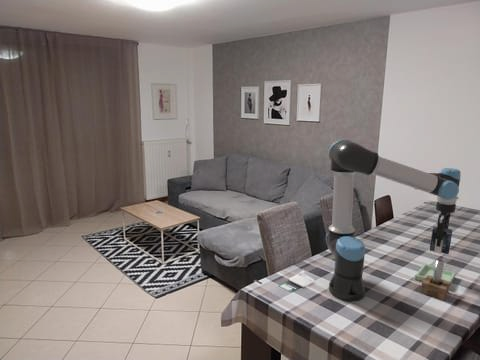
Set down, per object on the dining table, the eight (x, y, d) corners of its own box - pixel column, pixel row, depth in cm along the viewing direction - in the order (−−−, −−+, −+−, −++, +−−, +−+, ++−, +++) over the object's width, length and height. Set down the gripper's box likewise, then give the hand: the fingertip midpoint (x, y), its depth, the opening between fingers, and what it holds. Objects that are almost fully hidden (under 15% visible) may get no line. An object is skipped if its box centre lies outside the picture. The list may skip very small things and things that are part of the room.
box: (429, 251, 161) (432, 229, 159) (429, 246, 166) (432, 225, 163) (448, 254, 157) (452, 232, 155) (448, 250, 162) (452, 229, 160)
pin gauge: (437, 295, 150) (443, 263, 146) (429, 292, 152) (435, 261, 148) (439, 292, 152) (445, 261, 149) (431, 289, 154) (436, 258, 151)
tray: (447, 290, 154) (448, 284, 154) (414, 279, 163) (415, 274, 162) (454, 277, 166) (455, 272, 165) (423, 268, 174) (424, 263, 174)
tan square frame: (443, 300, 146) (445, 289, 145) (420, 292, 152) (422, 282, 151) (448, 292, 153) (450, 281, 151) (426, 285, 158) (427, 275, 157)
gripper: (451, 208, 147) (443, 259, 152) (460, 199, 161) (452, 246, 166) (431, 205, 152) (425, 254, 157) (442, 196, 166) (435, 242, 171)
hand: (439, 250), depth 161 cm, fingers closed on box, 6 cm apart
